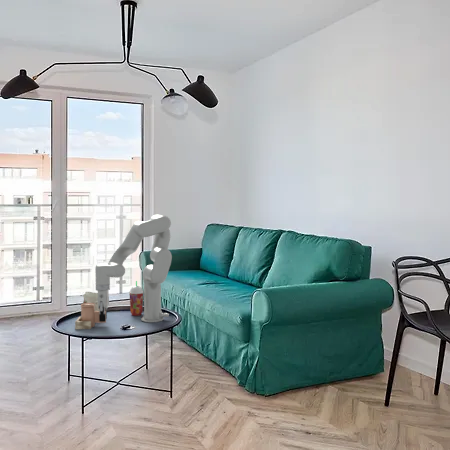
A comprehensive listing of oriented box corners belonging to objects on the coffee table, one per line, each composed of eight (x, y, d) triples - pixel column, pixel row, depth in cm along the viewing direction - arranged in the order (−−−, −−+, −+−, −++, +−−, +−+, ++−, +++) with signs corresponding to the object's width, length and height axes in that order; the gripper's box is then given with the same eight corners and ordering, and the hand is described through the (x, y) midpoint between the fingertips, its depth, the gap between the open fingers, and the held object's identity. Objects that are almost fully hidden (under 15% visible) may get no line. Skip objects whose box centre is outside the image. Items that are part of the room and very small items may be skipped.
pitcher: (91, 322, 281) (90, 298, 280) (77, 316, 295) (77, 292, 294) (109, 319, 288) (109, 295, 287) (95, 313, 302) (95, 290, 301)
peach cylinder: (106, 323, 279) (106, 302, 278) (104, 327, 272) (104, 305, 271) (82, 324, 278) (82, 302, 277) (79, 328, 270) (79, 306, 270)
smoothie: (144, 312, 304) (144, 280, 302) (142, 316, 296) (142, 282, 294) (130, 312, 304) (130, 279, 302) (128, 316, 295) (128, 282, 294)
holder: (94, 323, 280) (94, 316, 280) (90, 329, 269) (90, 321, 269) (79, 323, 280) (79, 316, 279) (75, 329, 268) (75, 321, 268)
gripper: (107, 290, 266) (107, 324, 267) (111, 283, 282) (112, 316, 284) (93, 290, 265) (93, 324, 266) (98, 284, 281) (98, 316, 283)
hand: (103, 320), depth 275 cm, fingers open, 3 cm apart
